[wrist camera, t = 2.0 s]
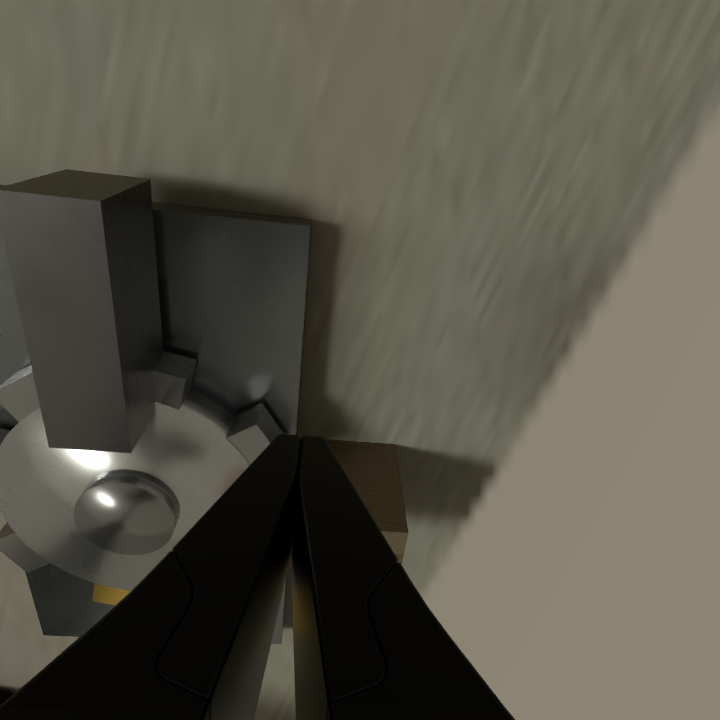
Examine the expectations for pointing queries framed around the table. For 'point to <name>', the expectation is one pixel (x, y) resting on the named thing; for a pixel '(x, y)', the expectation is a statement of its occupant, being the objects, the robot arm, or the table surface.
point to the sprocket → (103, 392)
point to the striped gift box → (376, 486)
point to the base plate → (198, 343)
